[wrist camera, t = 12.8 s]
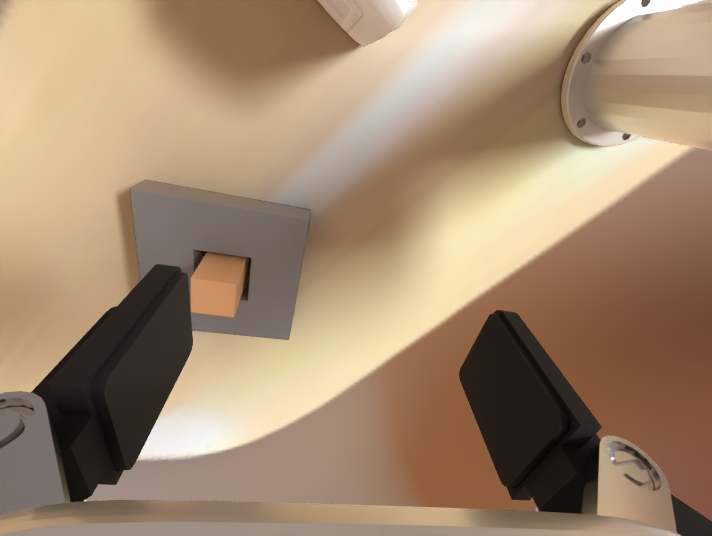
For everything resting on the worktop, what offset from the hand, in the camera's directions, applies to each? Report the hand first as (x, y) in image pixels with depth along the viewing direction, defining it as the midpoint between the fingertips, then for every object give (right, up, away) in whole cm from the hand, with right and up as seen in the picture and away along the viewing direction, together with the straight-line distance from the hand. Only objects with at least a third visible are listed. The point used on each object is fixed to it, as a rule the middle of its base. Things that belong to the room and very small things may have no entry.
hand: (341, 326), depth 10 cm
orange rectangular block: (-14, +3, +27) cm, 30 cm away
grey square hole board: (-14, +2, +27) cm, 30 cm away
